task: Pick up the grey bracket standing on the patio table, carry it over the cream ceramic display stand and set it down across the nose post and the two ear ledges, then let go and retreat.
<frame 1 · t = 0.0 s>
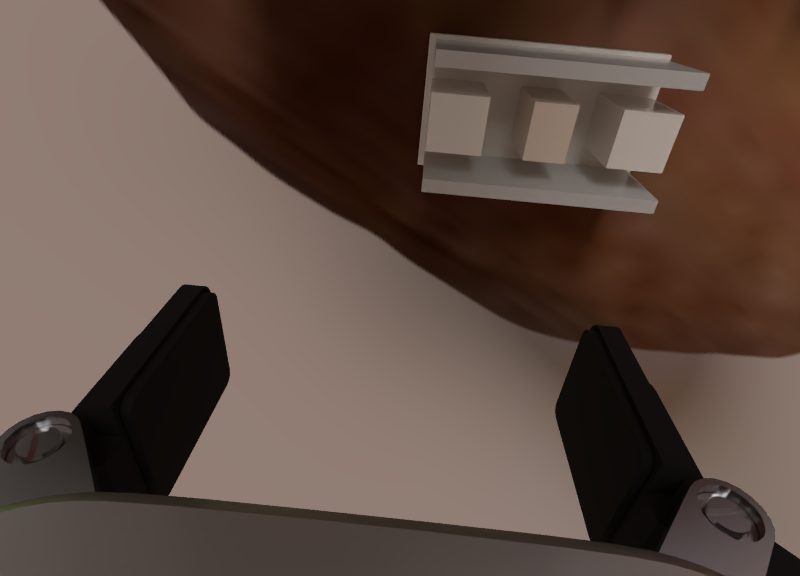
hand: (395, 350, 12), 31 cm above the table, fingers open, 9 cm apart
display stand: (532, 111, 38), on the table
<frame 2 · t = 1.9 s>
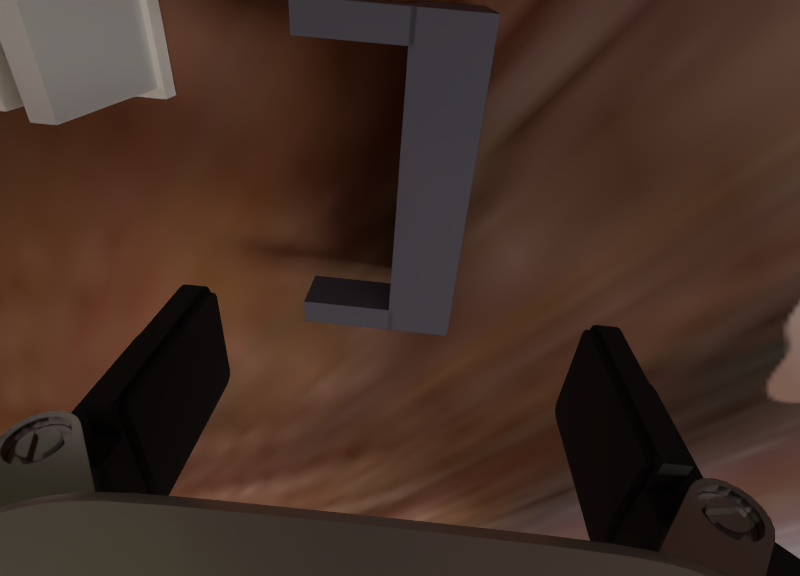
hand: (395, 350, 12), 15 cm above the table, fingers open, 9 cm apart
grey bracket: (434, 158, 24), on the table
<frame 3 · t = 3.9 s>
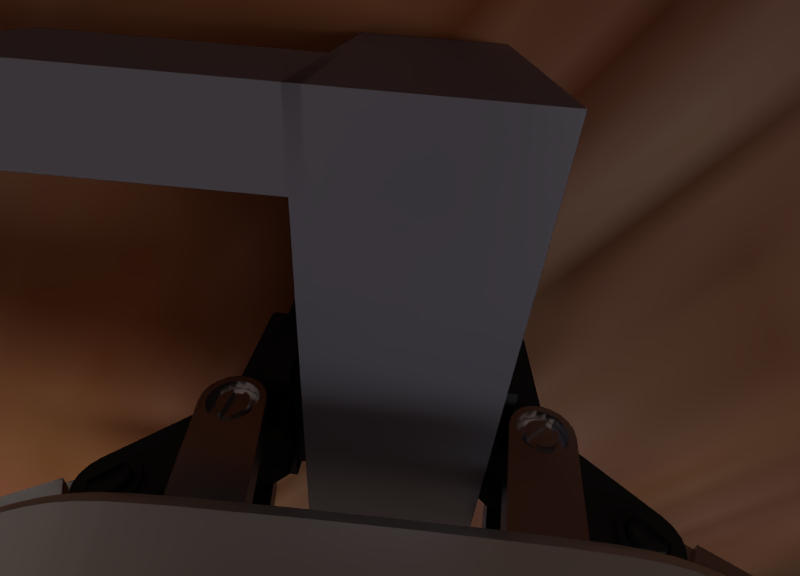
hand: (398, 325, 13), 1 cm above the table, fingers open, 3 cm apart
grey bracket: (408, 311, 13), on the table, touching gripper
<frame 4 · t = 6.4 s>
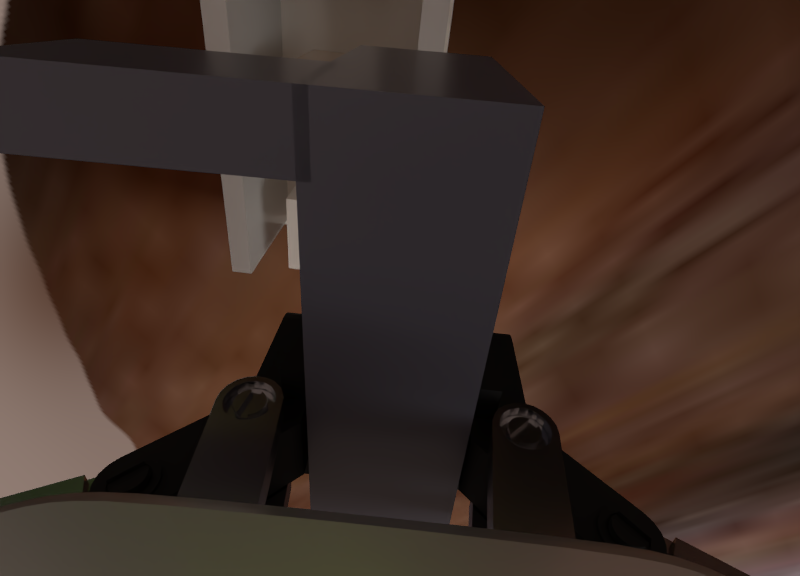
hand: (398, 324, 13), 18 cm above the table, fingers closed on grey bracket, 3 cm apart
grey bracket: (402, 304, 14), point 16 cm above the table, touching gripper
display stand: (353, 81, 26), on the table
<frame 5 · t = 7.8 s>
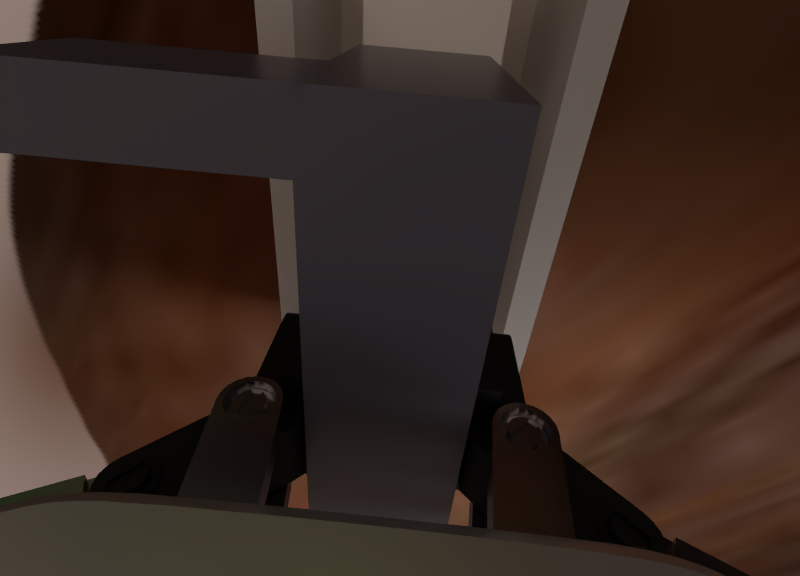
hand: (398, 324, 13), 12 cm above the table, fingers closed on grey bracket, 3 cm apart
grey bracket: (401, 304, 14), point 10 cm above the table, touching gripper
display stand: (419, 179, 22), on the table
when the fingers open (10 cm above the table, at t = 8.7 s): grey bracket drops 1 cm, resting on display stand.
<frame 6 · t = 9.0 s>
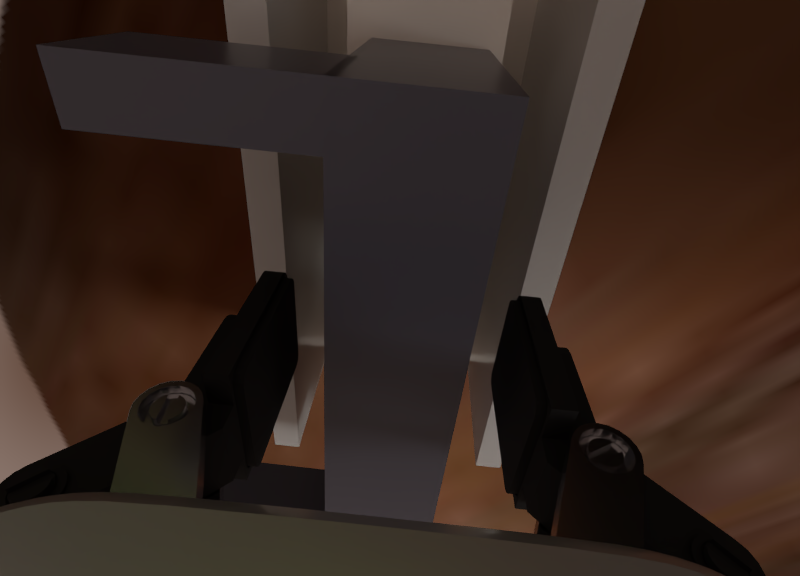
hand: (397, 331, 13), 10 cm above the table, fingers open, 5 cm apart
grey bracket: (404, 277, 15), point 7 cm above the table, touching display stand
display stand: (413, 191, 21), on the table
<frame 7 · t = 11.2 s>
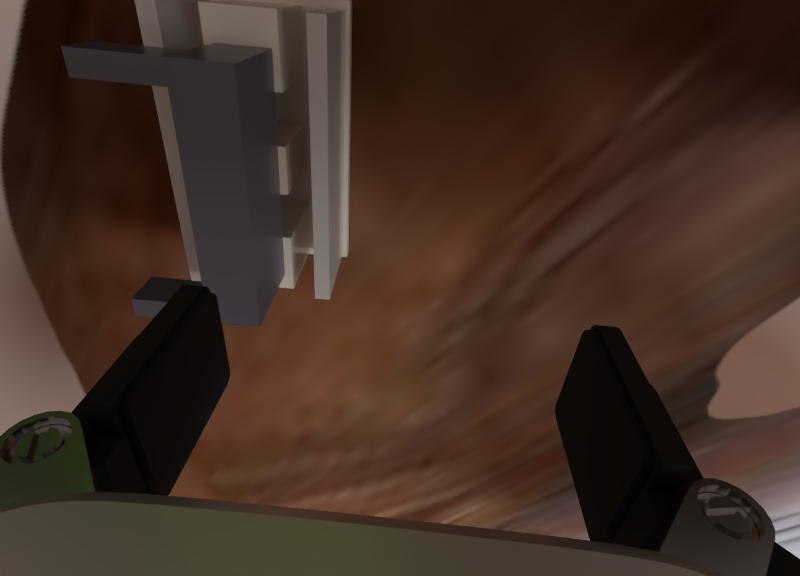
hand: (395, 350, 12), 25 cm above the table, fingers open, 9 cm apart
grey bracket: (254, 174, 28), point 7 cm above the table, touching display stand
display stand: (282, 137, 34), on the table
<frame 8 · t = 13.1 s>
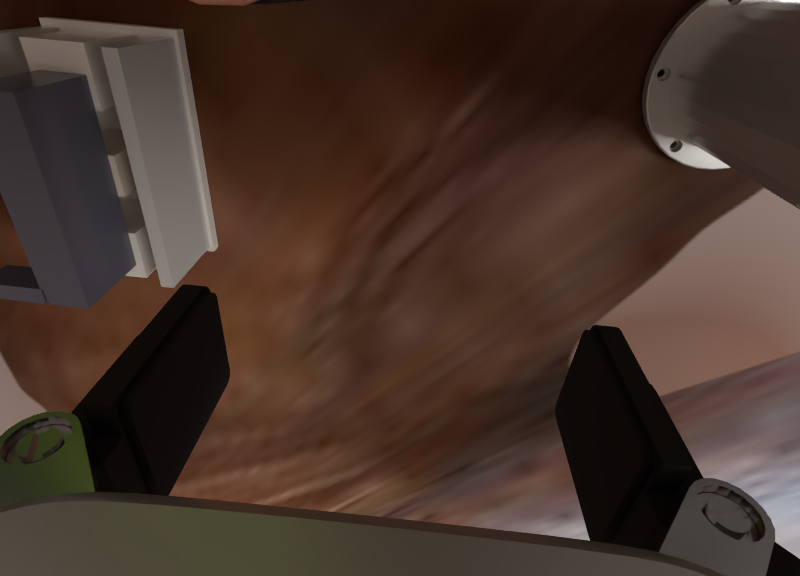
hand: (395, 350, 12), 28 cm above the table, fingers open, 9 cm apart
grey bracket: (93, 178, 33), point 7 cm above the table, touching display stand
display stand: (144, 146, 39), on the table
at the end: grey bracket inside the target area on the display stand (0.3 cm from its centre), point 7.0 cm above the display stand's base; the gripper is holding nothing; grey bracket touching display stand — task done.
